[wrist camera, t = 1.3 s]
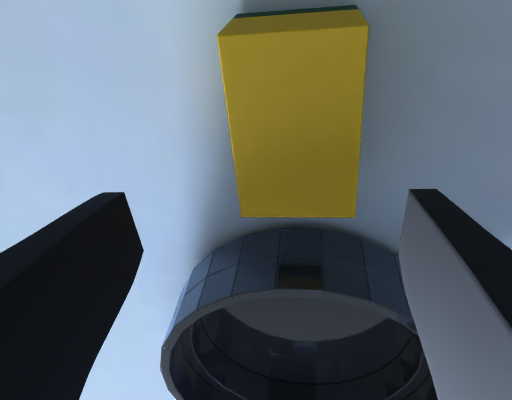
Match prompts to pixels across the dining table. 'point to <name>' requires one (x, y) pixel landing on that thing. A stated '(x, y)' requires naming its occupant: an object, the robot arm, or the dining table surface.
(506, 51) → the dining table surface
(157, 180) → the dining table surface
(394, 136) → the dining table surface
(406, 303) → the bowl
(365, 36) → the sponge
